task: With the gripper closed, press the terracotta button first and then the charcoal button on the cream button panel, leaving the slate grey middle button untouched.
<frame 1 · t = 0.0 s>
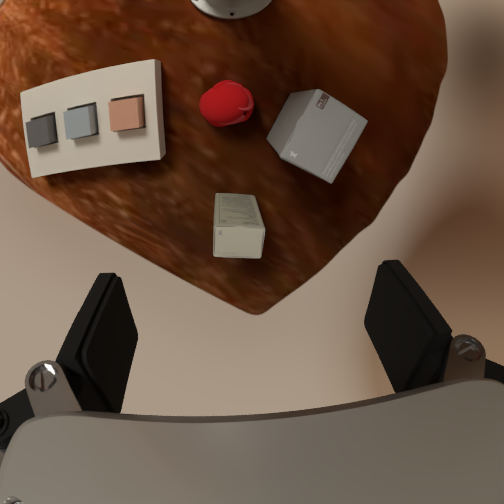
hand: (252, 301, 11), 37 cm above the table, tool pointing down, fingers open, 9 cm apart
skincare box: (295, 122, 42), on the table
cap: (225, 102, 40), on the table
slate button: (81, 121, 35), point 5 cm above the table, slide at 0.0 cm
button panel: (93, 117, 39), on the table
terracotta button: (126, 113, 35), point 4 cm above the table, slide at 0.0 cm
skincare box 2: (235, 205, 48), on the table
charcoal button: (42, 130, 34), point 5 cm above the table, slide at 0.0 cm
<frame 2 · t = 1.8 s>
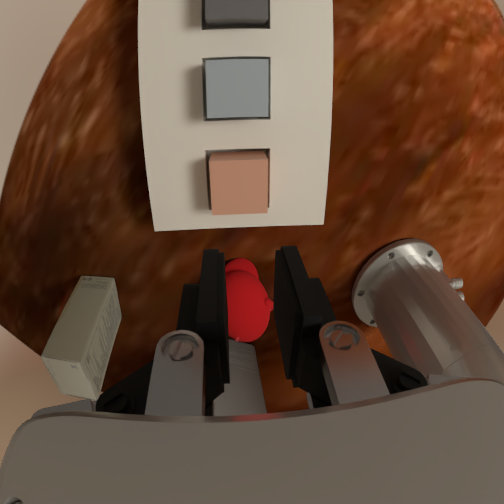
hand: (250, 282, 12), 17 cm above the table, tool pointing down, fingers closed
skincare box: (219, 349, 38), on the table
cap: (240, 285, 33), on the table
slate button: (236, 87, 19), point 5 cm above the table, slide at 0.0 cm
button panel: (235, 88, 23), on the table
terracotta button: (238, 181, 23), point 5 cm above the table, slide at 0.0 cm
skincare box 2: (103, 296, 33), on the table
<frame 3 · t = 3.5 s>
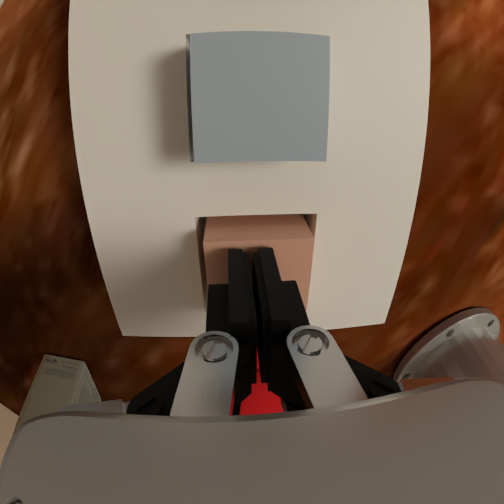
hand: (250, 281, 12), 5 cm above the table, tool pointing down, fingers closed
cap: (252, 375, 23), on the table
slate button: (257, 94, 9), point 4 cm above the table, slide at 0.0 cm
button panel: (249, 93, 13), on the table
terracotta button: (256, 265, 13), point 4 cm above the table, slide at 0.7 cm, touching gripper
skincare box 2: (75, 376, 23), on the table
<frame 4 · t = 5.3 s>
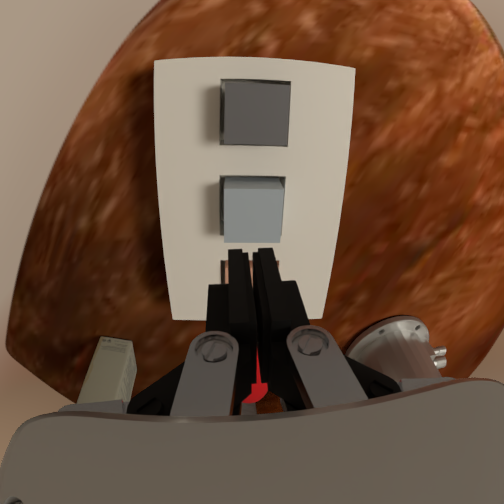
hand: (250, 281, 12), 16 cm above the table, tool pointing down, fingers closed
cap: (244, 352, 36), on the table
slate button: (252, 209, 23), point 4 cm above the table, slide at 0.0 cm
button panel: (249, 190, 27), on the table
terracotta button: (248, 278, 27), point 3 cm above the table, slide at 1.5 cm
skincare box 2: (120, 353, 36), on the table
charcoal button: (255, 112, 19), point 4 cm above the table, slide at 0.0 cm
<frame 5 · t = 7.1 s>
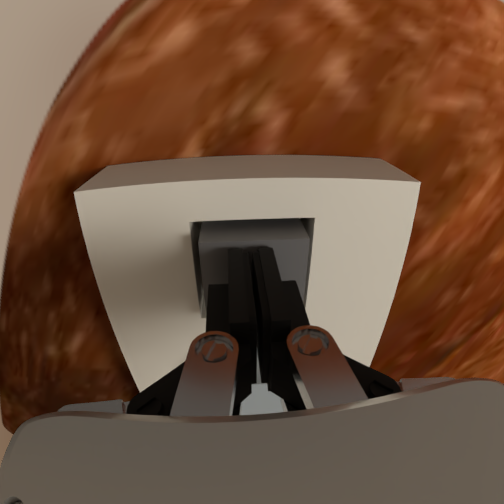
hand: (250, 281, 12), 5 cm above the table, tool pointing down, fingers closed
slate button: (254, 383, 16), point 4 cm above the table, slide at 0.0 cm
button panel: (249, 328, 20), on the table
charcoal button: (252, 265, 13), point 3 cm above the table, slide at 1.0 cm, touching gripper
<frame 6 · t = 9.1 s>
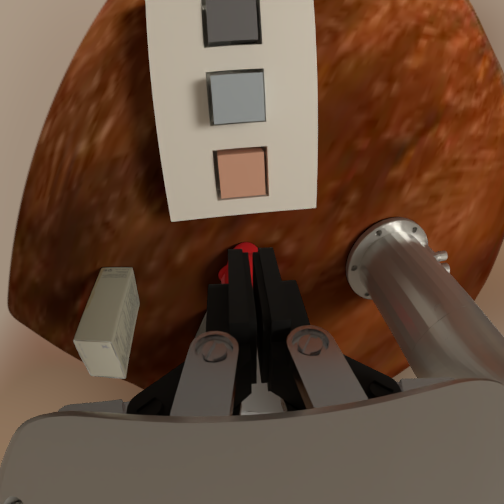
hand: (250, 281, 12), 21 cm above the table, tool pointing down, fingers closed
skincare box: (229, 327, 43), on the table
cap: (245, 267, 38), on the table
slate button: (236, 96, 23), point 4 cm above the table, slide at 0.0 cm
button panel: (233, 94, 27), on the table
terracotta button: (240, 170, 28), point 3 cm above the table, slide at 1.5 cm
skincare box 2: (122, 285, 37), on the table
charcoal button: (231, 22, 21), point 3 cm above the table, slide at 1.5 cm
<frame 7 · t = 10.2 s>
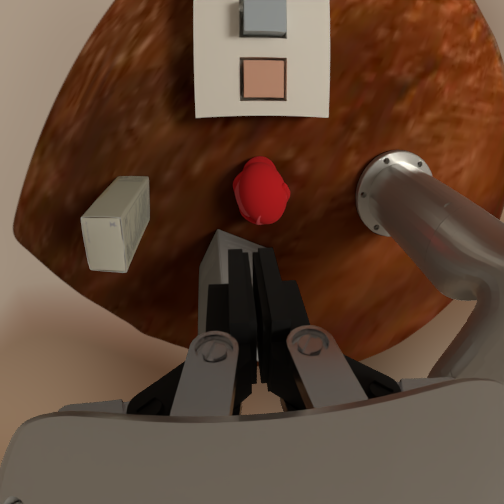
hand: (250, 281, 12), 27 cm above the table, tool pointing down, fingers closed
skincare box: (237, 254, 43), on the table
cap: (259, 184, 38), on the table
slate button: (263, 16, 24), point 4 cm above the table, slide at 0.0 cm
button panel: (259, 24, 28), on the table
terracotta button: (262, 79, 29), point 3 cm above the table, slide at 1.5 cm
skincare box 2: (135, 198, 38), on the table
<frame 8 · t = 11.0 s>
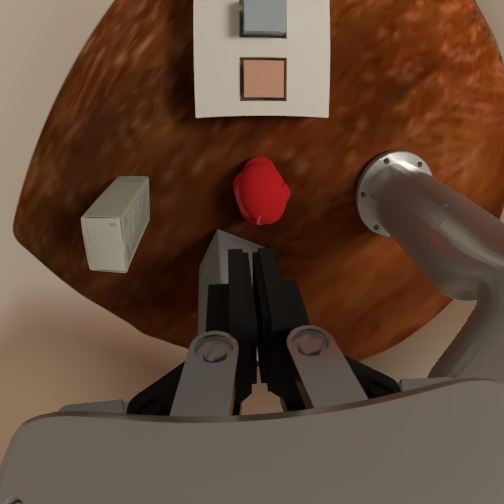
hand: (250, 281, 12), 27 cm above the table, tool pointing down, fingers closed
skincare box: (237, 254, 43), on the table
cap: (259, 184, 38), on the table
slate button: (263, 16, 24), point 5 cm above the table, slide at 0.0 cm
button panel: (259, 24, 28), on the table
terracotta button: (262, 79, 29), point 3 cm above the table, slide at 1.5 cm
skincare box 2: (135, 198, 38), on the table
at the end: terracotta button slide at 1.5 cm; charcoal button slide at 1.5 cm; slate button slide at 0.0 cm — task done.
